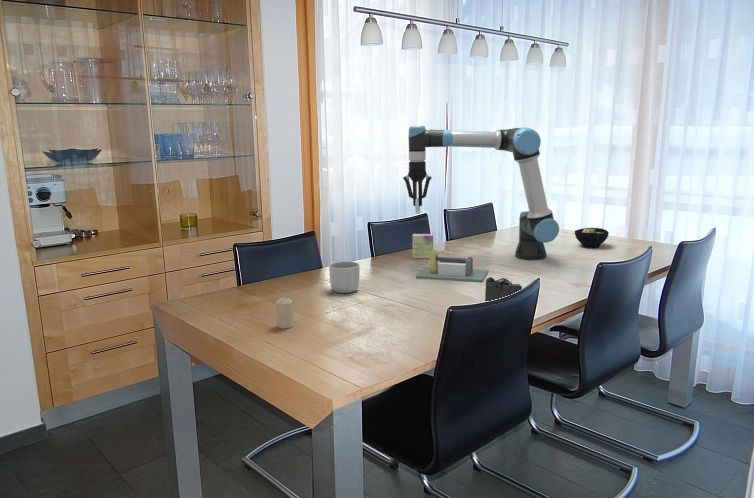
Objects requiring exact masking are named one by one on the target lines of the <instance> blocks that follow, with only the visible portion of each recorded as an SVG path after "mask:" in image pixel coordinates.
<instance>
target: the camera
mask: <svg viewBox="0 0 754 498" xmlns="http://www.w3.org/2000/svg"><path fill="white" fill-rule="evenodd" d="M522 288H523V287H522V285H520V284H519V283H512V281H510V280H508V278H505V277H502V278H497V279H495V278H493V276H491V277H490V276H489V277H487V278H486V280H485V295H484V296H485V298H484V299H485V300H484V301H485V303H486V301H491V300H495V299H499V298H502V297H505V296H508V295H511V294H513V293H515V292H517V291H519V290H521V289H522ZM522 290H523V289H522Z"/></svg>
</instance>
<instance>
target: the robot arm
mask: <svg viewBox="0 0 754 498" xmlns="http://www.w3.org/2000/svg"><path fill="white" fill-rule="evenodd" d="M407 137H408V160H409V162H408V173H407V175H405V176H403V180H404V182H405V186H406V189H407V194H408V197H409V198H410V199H412V206H413V207H415V208H414V209H415V210H414V211H415V214H416V215H418V214H421V207H422V206H423V199H425V198H426V197H427V194H428V190H429V186H430V181H431V180H432V176H430V175H428V174H427V168H426V165H427V162H426V161H425V160H426V158H427V157H426V154H427V151H426V149H427V148H448V147H451V148H452V147H459V148H487V149H488V148H489V149H493V148H494V149H495V150H496V151H504V152H509V153H512V155H513V161H514V162H517V163H518V166H519V172H520V176H521V179H522V180H521V181H522V185H523V189H524V194H525V199H526V203H527V206H528V207H527V208H528V211H521V212H520V214H519V218H518V219H519V223H518V225H519V226H518V227H519V228H518V243H517V246H516V248H515V251H514V257H515V258H517V259H520V260H529V261H533V260H534V261H537V260H544V259H546V258H547V251H546V248H545V244H546V243H550V242H553V241H555V239H556V238H557V237H558V235H559V233H560V226H559V223H558V222H557V220H555V219H554V214H553V211H552V210H551V209H550V208H549V207H548V202H547V198H546V194H545V193H546V192H545V188H544V184H543V180H542V179H543V178H542V175H541V171H540V165H539V160H538V158H539V157H540V155H541V153H540V147H541V142H542V141H541V139H542V138H541V136H540V134H539V133H538V132H537V131H536V130H535V129H533V128H530V127H515V128H507V129H505V128H504V129H496V130H495V131H487V130H486V131H485V130H484V131H483V130H482V131H481V130H479V131H478V130H454V129H453V130H452V129H426V126H425V125H411V126H410V127H409V128H408V136H407ZM424 179H425V183H424V186H423V181H424ZM410 180H411V181H410ZM411 182H412V186H411ZM417 185H418V186H417ZM423 187H424V188H423ZM417 190H418V191H417ZM417 196H418V197H417ZM544 243H545V244H544Z"/></svg>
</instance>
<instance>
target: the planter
mask: <svg viewBox="0 0 754 498" xmlns="http://www.w3.org/2000/svg"><path fill="white" fill-rule="evenodd" d="M328 268H329V283H330V287H331V290H332V291H334V292H335V293H338V294H350V293H354V292H355V291H357V290H358V289H359V287H360V263H358V262H355V261H336V262H332V263H330V264H329V265H328Z"/></svg>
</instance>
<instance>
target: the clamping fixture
mask: <svg viewBox="0 0 754 498" xmlns="http://www.w3.org/2000/svg"><path fill="white" fill-rule="evenodd" d="M467 258H471V259H472V261H471V260H470V259H466V263H465V262H449V261H438V271H437V272H436V273H430V266H424V267H423V268H422V269H421V270H420V272H418V273H417V274H416V275H415V279H423V280H437V281H438V280H440V281H441V280H442V281H457V282H468V283H469V282H470V283H471V282H473V283H474V282H475V283H483V282H484V280H485V278H486V276H487V275H488V273H489V269H475V268H474V257H473V256H467Z"/></svg>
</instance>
